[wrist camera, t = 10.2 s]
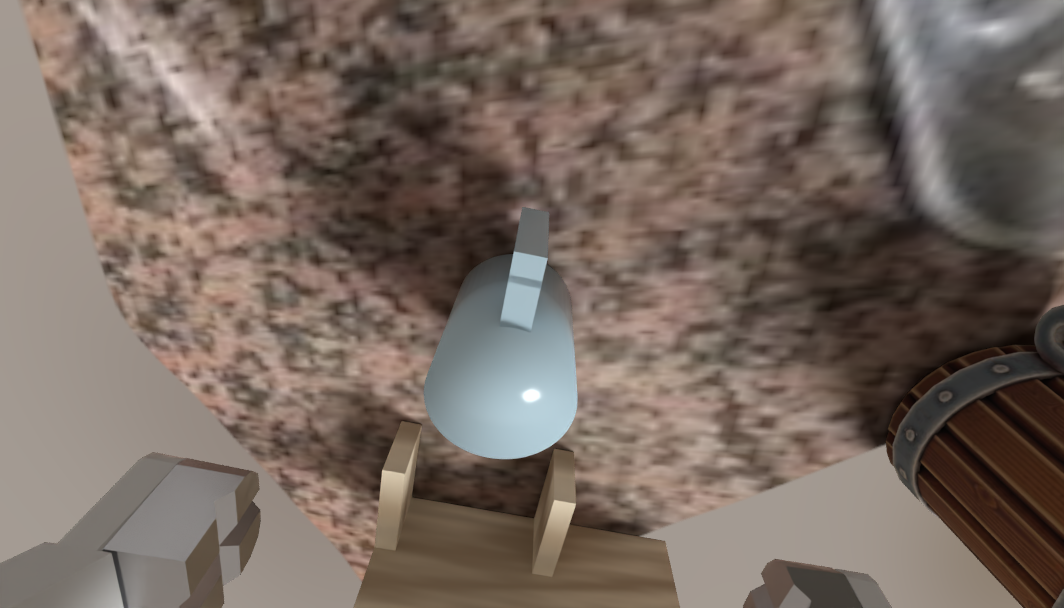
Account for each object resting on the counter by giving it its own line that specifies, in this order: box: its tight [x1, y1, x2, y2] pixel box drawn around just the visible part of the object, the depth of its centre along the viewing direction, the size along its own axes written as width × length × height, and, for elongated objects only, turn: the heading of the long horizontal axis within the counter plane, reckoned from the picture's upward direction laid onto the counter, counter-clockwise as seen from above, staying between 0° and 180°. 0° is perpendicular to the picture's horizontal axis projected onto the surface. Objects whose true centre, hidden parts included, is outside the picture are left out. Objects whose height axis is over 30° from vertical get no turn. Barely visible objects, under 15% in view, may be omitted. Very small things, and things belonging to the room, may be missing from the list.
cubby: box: [354, 421, 680, 608], centre depth 29 cm, size 7×18×10 cm, turn 79°
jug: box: [424, 207, 577, 459], centre depth 24 cm, size 9×6×8 cm, turn 169°
